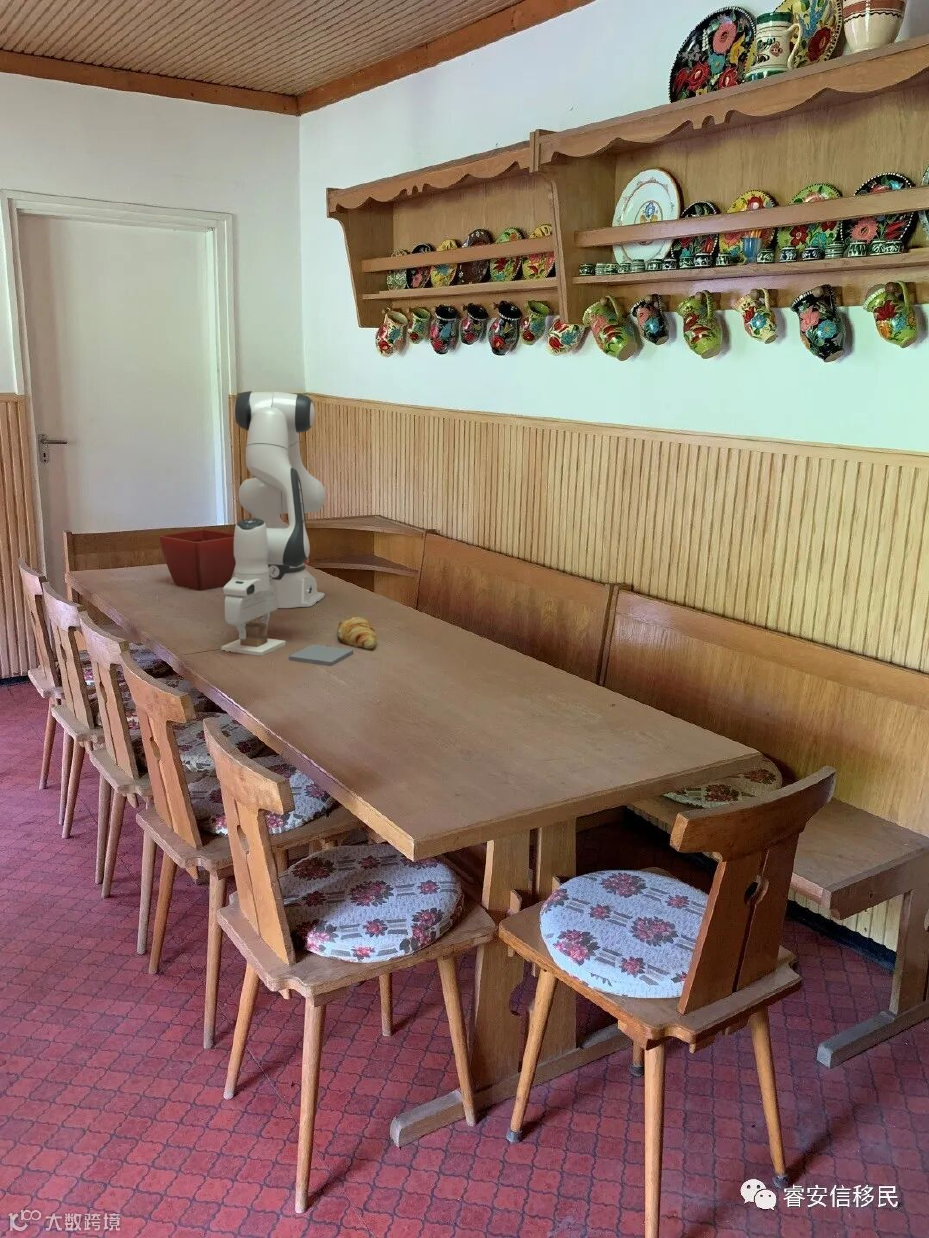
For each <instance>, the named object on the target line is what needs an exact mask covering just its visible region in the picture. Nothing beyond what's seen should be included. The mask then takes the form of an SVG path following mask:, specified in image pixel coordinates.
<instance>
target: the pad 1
mask: <svg viewBox="0 0 929 1238" xmlns="http://www.w3.org/2000/svg"><path fill="white" fill-rule="evenodd" d="M286 643H287V641H286V640H283V639H282V640H281V639H276V638H275V639H274V638H268V637H267V643H265V644H263V645H261V646H259V647H252V646H245V645H241V643H240V638H238V639H236V640H234V641H232V642H229V643H226V644H224V645H221V646H220V648H221V649H220V650H221V651H222V650H225V651H224V652H229V651H231V653H236V652H237V653H238V654H244V655H251V656H259V657H263V656H265V655H267V654H269V653H271V652H273V651H275V650H278V649H279V648H282V647H284V646H286V645H285V644H286ZM237 653H236V654H237Z"/></svg>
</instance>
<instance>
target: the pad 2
mask: <svg viewBox="0 0 929 1238" xmlns="http://www.w3.org/2000/svg"><path fill="white" fill-rule="evenodd" d="M352 655H354V649H350V648H344V647H335V646H327V645H319V644H313V643H312V644H311V645H309V646H306V647H305V648H303V649H300V650H297V651H296V652H294V653H293V654H291V655H289V656H288V660H289V661H294V662H301V663H309V664H315V665H323V666H327V667H329V666H330V667H332V666H334V665H335V664H337V663H339V662H341V661H343V660H344V659H346V658H348V657H350V656H352Z"/></svg>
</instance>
